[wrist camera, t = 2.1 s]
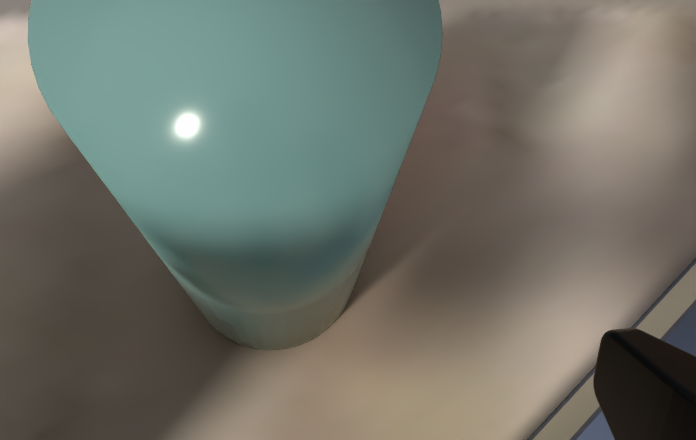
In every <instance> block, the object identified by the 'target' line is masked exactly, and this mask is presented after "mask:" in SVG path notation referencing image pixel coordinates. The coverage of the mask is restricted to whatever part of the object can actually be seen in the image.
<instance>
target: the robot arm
mask: <svg viewBox="0 0 696 440" xmlns="http://www.w3.org/2000/svg"><path fill="white" fill-rule="evenodd" d="M593 386H594V392H595V396H596V398H597V401H598V403H599V405H600V408H601V410H602V412H603V414H604V417H605V419H606V421H607V424H608V426H609V428H610V430H611V433H612V435H613V437H614V439H615V440H696V356H694V355H692V354H690V353H687V352H685V351H683V350H681V349H679V348H677V347H675V346H673V345H671V344H669V343H667V342H665V341H663V340H660V339H658V338H656V337H654V336H652V335H650V334H648V333H646V332H644V331H642V330H639V329H636V328H628V329H617V330H610V331H607V332H606V333H605V334H604V335H603V337H602V339H601V343H600V348H599V353H598V358H597V363H596V368H595V373H594V379H593Z"/></svg>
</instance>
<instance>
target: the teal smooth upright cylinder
mask: <svg viewBox="0 0 696 440" xmlns="http://www.w3.org/2000/svg"><path fill="white" fill-rule="evenodd" d="M442 34H443V33H442V20H441V10H440V5H439V1H438V0H32V2H31V7H30V12H29V17H28V45H29V52H30V58H31V65H32V68H33V71H34V75H35V78H36V81H37V84H38V87H39V89H40V91H41V93H42V95H43V97H44V99H45V101H46V103H47V105H48V107H49V109H50V111H51V112H52V114H53V115H54V117H55V118H56V119H57V121H58V122H59V124H60V125H61V126H62V128H63V129H64V130H65V132H66V133H67V135H68V136H69V137H70V139H71V140H72V141H73V143H74V144H75V145H76V147H77V148H78V149H79V151H80V152H81V153H82V155H83V156H84V157H85V159H86V160H87V161H88V163H89V164H90V165H91V167H92V168H93V169H94V171H95V172H96V173H97V175H98V176H99V177H100V179H101V180H102V181H103V183H104V184H105V185H106V187H107V188H108V189H109V191H110V192H111V193H112V195H113V196H114V197H115V199H116V200H117V201H118V203H119V204H120V205H121V207H122V208H123V209H124V211H125V212H126V213H127V215H128V216H129V217H130V219H131V220H132V221H133V223H134V224H135V225H136V227H137V228H138V229H139V231H140V232H141V233H142V235H143V236H144V237H145V239H146V240H147V241H148V243H149V244H150V245H151V247H152V248H153V249H154V251H155V252H156V253H157V255H158V256H159V257H160V259H161V260H162V261H163V263H164V264H165V265H166V267H167V268H168V269H169V271H170V272H171V273H172V275H173V276H174V277H175V279H176V280H177V281H178V283H179V284H180V285H181V287H182V288H183V289H184V291H185V292H186V293H187V295H188V296H189V297H190V299H191V300H192V301H193V303H194V304H195V305H196V307H197V308H198V309H199V311H200V312H201V313H202V315H203V316H204V317H205V319H206V320H207V321H208V322H209V323H210V324H211V325H212V326H213V328H214V329H216V330H217V331H218V332H219V333H221V334H222V335H223V336H225V337H227V338H228V339H230V340H232V341H233V342H236V343H238V344H241V345H243V346H247V347H250V348H254V349H262V350H280V349H287V348H291V347H295V346H299V345H301V344H304V343H306V342H308V341H310V340H312V339H314V338H316V337H317V336H319V335H320V334H322V333H323V332H324V331H325V330H327V329H328V328H329V327H330V326H331V325H332V324H333V323H334V322H335V321H336V320H337V318H338V317H339V316H340V314H341V313H342V312H343V310H344V308H345V306H346V305H347V303H348V300H349V298H350V296H351V293H352V290H353V288H354V285H355V283H356V280H357V278H358V275H359V273H360V270H361V267H362V265H363V262H364V260H365V257H366V255H367V252H368V249H369V247H370V244H371V242H372V239H373V237H374V234H375V231H376V229H377V226H378V224H379V221H380V219H381V216H382V214H383V211H384V208H385V206H386V203H387V201H388V198H389V196H390V193H391V190H392V188H393V185H394V183H395V180H396V178H397V175H398V172H399V170H400V167H401V165H402V162H403V160H404V157H405V155H406V152H407V149H408V147H409V144H410V142H411V139H412V137H413V134H414V131H415V129H416V126H417V124H418V121H419V119H420V116H421V114H422V111H423V108H424V106H425V103H426V101H427V98H428V96H429V93H430V90H431V88H432V85H433V83H434V80H435V78H436V73H437V69H438V65H439V61H440V57H441V46H442Z"/></svg>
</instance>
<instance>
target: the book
mask: <svg viewBox="0 0 696 440" xmlns="http://www.w3.org/2000/svg"><path fill="white" fill-rule="evenodd" d="M632 328H636V329H639V330H642V331H644V332H646V333H648V334H650V335H652V336H654V337H656V338H658V339H660V340H663V341H665V342H667V343H669V344H671V345H673V346H675V347H677V348H679V349H681V350H683V351H685V352H687V353H690V354H692V355H694V356H696V259H695V260H694V261H693V262H692V263H691V264H690V265H689V266H688V267H687V269H686V270H685V271H684V272H683V273H682V274H681V275H680V276H679V277H678V278H677V279H676V280H675V282H674V283H673V284H672V285H671V286H670V287H669V288H668V289H667V290H666V291H665V292H664V293H663V294H662V296H661V297H660V298H659V299H658V300H657V301H656V302H655V303H654V304H653V305H652V306H651V307H650V308H649V310H648V311H647V312H646V313H645V314H644V315H643V316H642V317H641V318H640V319H639V320H638V321H637V322H636V324H635V325H634V326H633V327H632ZM595 368H596V367H595ZM595 368H594V369H593V370H592V371H591V372H590V373H589V374H588V375H587V376H586V377H585V379H584V380H583V381H582V382H581V383H580V384H579V385H578V386H577V387H576V388H575V389H574V390H573V391H572V393H571V394H570V395H569V396H568V397H567V398H566V399H565V400H564V401H563V402H562V403H561V404H560V406H559V407H558V408H557V409H556V410H555V411H554V412H553V413H552V414H551V415H550V416H549V417H548V418H547V420H546V421H545V422H544V423H543V424H542V425H541V426H540V427H539V428H538V429H537V430H536V431H535V432H534V434H533V435H532V436H531V437H530V438H529V439H528V440H615V439H614V437H613V435H612V433H611V430H610V428H609V426H608V424H607V421H606V419H605V417H604V414H603V412H602V410H601V408H600V405H599V403H598V401H597V398H596V396H595V392H594V386H593V379H594V373H595Z"/></svg>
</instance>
